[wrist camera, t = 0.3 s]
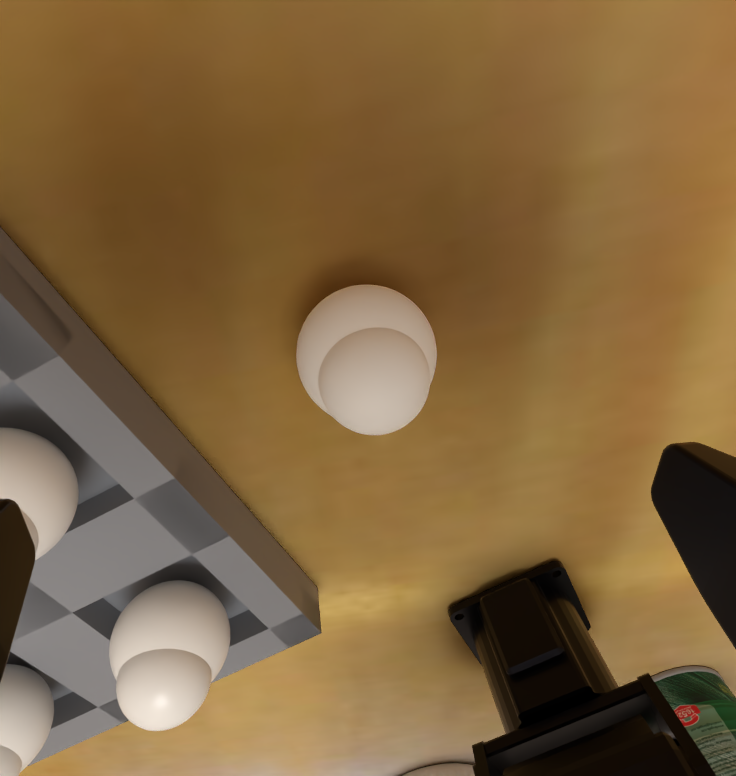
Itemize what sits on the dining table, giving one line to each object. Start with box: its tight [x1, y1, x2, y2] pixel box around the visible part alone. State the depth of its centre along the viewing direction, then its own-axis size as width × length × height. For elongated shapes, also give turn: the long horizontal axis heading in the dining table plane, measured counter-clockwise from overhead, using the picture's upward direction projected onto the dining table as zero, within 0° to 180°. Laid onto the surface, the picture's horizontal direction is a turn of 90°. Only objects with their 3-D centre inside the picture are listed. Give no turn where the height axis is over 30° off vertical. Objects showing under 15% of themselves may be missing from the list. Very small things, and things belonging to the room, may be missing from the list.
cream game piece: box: [296, 284, 437, 435], centre depth 18 cm, size 5×5×6 cm
